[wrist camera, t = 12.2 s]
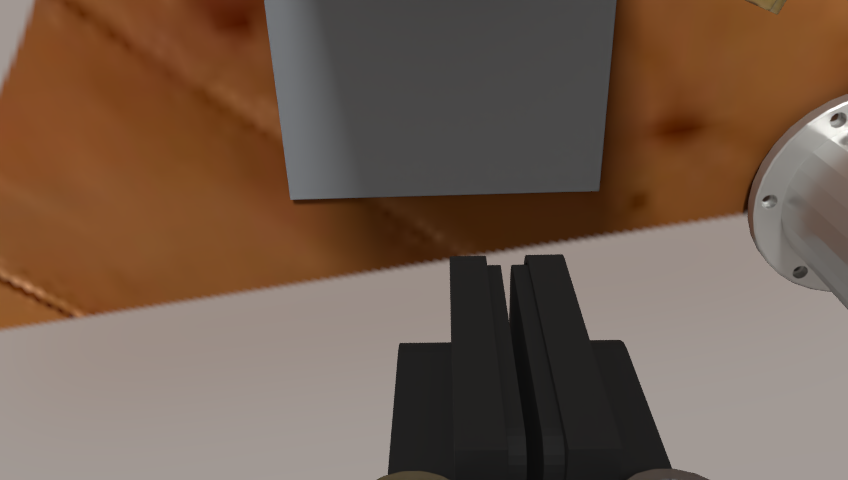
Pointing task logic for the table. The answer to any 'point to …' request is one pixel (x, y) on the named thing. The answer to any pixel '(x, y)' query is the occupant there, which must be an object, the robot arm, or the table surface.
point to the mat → (441, 95)
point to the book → (769, 4)
